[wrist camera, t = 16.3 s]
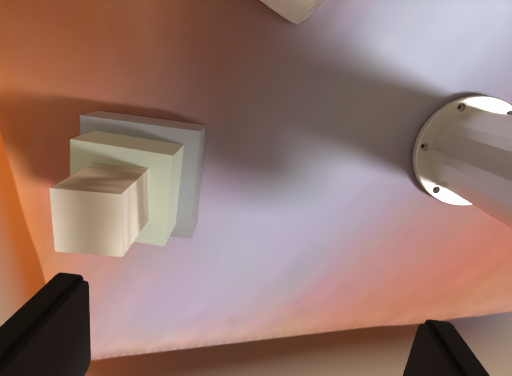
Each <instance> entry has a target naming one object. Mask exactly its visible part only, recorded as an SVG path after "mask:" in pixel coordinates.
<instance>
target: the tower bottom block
mask: <svg viewBox="0 0 512 376" xmlns="http://www.w3.org/2000/svg"><path fill="white" fill-rule="evenodd" d="M94 130H96V131H102V132H108V133H114V134H120V135H127V136H133V137H139V138H145V139H151V140H158V141H164V142H170V143H176V144H182V145H184V149H183V158H182V168H181V177H180V186H179V196H178V205H177V215H176V224H175V227H174V229H173V231H172V233H171V235H170V236H173V237H181V238H190V239H191V237H192V235H193V232H194V229H195V227H196V224H197V219H198V209H199V198H200V187H201V176H202V166H203V155H204V144H205V133H206V125H202V124H195V123H187V122H180V121H173V120H165V119H158V118H150V117H143V116H135V115H128V114H121V113H113V112H106V111H95V112H91V113H87V114H83V115H80V135H83V134H86V133H88V132H91V131H94Z"/></svg>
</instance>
